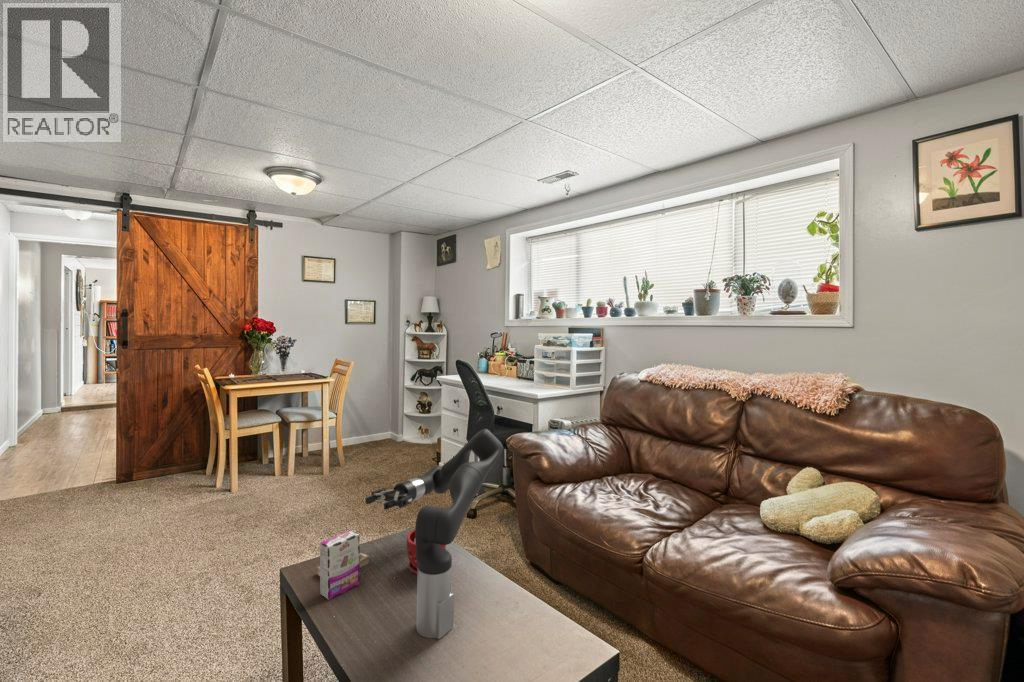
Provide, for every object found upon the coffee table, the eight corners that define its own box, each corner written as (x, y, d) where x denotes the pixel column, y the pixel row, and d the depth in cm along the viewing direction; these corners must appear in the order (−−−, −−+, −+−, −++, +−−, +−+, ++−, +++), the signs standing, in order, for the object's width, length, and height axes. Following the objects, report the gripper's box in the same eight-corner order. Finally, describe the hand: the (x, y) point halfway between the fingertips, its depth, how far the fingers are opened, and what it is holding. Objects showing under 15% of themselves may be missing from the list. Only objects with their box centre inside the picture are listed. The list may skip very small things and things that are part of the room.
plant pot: (402, 563, 163) (402, 529, 163) (439, 556, 169) (440, 523, 168) (410, 583, 151) (411, 546, 151) (450, 575, 157) (451, 539, 156)
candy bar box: (350, 579, 153) (351, 529, 152) (360, 584, 150) (360, 533, 149) (318, 595, 144) (319, 542, 143) (328, 601, 141) (328, 547, 140)
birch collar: (369, 563, 163) (369, 556, 163) (334, 582, 151) (334, 574, 151) (352, 556, 168) (352, 549, 167) (316, 574, 155) (316, 567, 155)
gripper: (424, 505, 168) (390, 520, 154) (394, 496, 175) (360, 510, 161) (424, 484, 167) (391, 497, 153) (395, 476, 175) (360, 488, 161)
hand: (375, 503), depth 157 cm, fingers open, 8 cm apart
